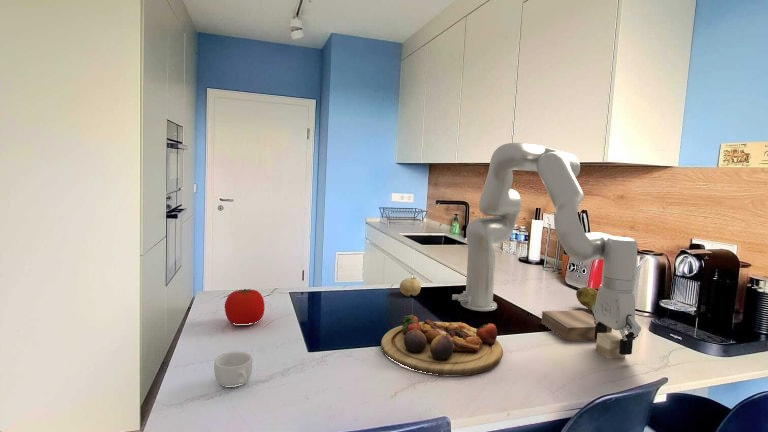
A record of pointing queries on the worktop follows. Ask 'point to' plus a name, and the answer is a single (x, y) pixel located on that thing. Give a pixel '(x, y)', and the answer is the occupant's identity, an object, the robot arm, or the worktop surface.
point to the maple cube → (609, 345)
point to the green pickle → (587, 297)
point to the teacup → (233, 368)
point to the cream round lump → (410, 287)
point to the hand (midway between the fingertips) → (612, 346)
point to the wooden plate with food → (443, 346)
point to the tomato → (244, 306)
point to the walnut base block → (571, 324)
